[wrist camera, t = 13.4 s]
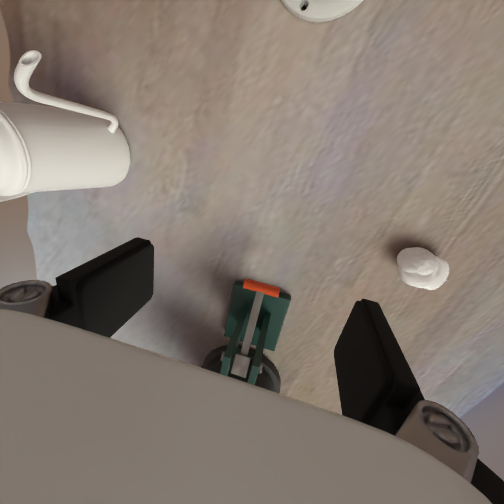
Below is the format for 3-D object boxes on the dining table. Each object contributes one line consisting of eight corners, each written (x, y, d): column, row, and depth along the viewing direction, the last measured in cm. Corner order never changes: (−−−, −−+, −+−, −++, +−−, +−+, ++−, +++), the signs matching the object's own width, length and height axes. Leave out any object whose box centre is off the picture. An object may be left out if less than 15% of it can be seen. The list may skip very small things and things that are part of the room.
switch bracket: (235, 280, 42) (208, 329, 30) (290, 295, 40) (285, 352, 29) (226, 331, 47) (200, 389, 35) (275, 346, 46) (264, 411, 34)
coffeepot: (182, 135, 34) (60, 118, 17) (82, 215, 43) (-63, 255, 26) (135, 58, 31) (-63, -53, 14) (39, 160, 40) (-153, 165, 23)
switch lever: (246, 277, 35) (244, 278, 33) (280, 287, 35) (280, 288, 32) (223, 362, 35) (220, 370, 33) (257, 373, 35) (256, 381, 32)
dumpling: (384, 272, 36) (390, 278, 32) (400, 240, 35) (408, 243, 31) (434, 290, 34) (446, 300, 30) (453, 258, 33) (468, 263, 29)
